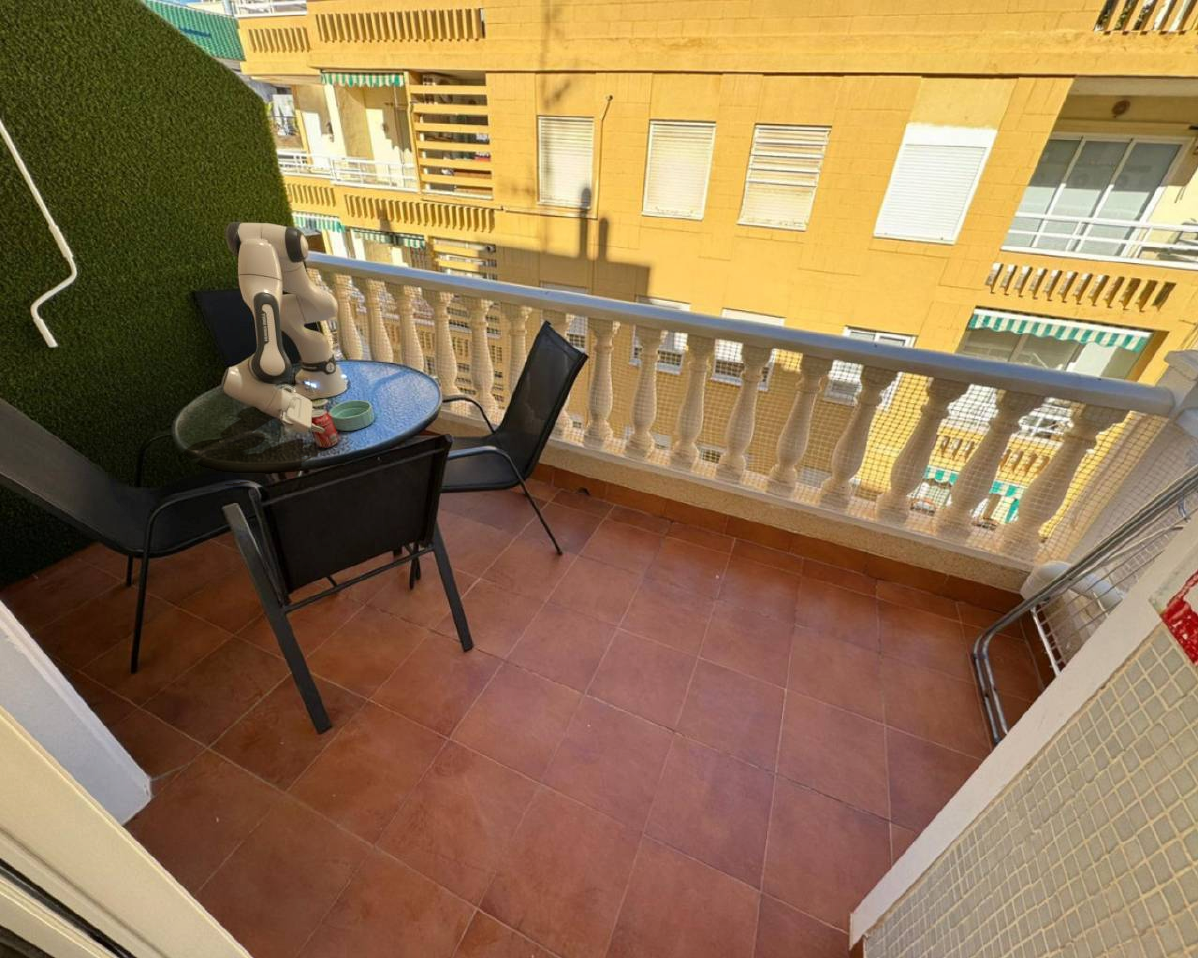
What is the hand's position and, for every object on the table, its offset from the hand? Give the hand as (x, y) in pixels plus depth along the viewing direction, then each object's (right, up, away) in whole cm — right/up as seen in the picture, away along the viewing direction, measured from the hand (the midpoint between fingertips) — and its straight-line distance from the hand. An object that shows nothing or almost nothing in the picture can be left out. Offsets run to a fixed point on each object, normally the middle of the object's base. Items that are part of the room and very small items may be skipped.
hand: (323, 425), depth 168 cm
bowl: (+2, +3, +16) cm, 17 cm away
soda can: (0, -6, +4) cm, 7 cm away
